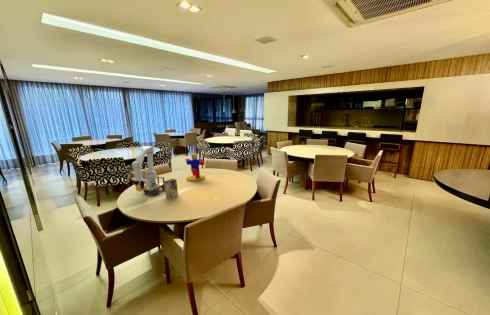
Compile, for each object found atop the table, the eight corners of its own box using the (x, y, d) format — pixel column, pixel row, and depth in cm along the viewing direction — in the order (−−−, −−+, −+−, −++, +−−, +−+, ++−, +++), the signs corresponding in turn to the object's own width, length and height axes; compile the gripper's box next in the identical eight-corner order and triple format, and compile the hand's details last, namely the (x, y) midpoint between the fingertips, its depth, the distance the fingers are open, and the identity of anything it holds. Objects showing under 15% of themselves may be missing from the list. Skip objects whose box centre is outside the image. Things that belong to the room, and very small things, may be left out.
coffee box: (173, 194, 185) (172, 178, 181) (178, 195, 181) (176, 179, 178) (165, 197, 177) (163, 181, 173) (170, 199, 174) (168, 182, 170)
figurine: (203, 174, 241) (201, 151, 234) (206, 180, 222) (205, 154, 215) (185, 177, 233) (183, 152, 226) (187, 183, 213) (185, 156, 206)
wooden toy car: (155, 195, 181) (153, 183, 178) (143, 194, 185) (142, 181, 182) (167, 189, 197) (166, 177, 194) (156, 187, 201) (155, 176, 198)
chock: (136, 190, 175) (135, 185, 174) (142, 188, 181) (141, 182, 180) (140, 191, 173) (139, 185, 172) (146, 188, 180) (145, 183, 179)
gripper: (128, 174, 171) (130, 189, 174) (140, 176, 167) (142, 191, 170) (134, 172, 178) (136, 186, 181) (147, 174, 173) (149, 188, 176)
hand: (140, 188), depth 176 cm, fingers closed on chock, 5 cm apart
